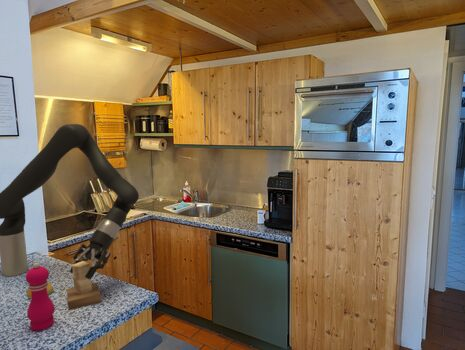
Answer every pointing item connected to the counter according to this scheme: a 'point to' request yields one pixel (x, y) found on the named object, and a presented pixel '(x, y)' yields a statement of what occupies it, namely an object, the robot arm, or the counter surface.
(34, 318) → the pepper mill
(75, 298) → the walnut block
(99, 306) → the counter surface
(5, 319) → the counter surface
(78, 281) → the beech block
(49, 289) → the bread roll
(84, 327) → the counter surface
